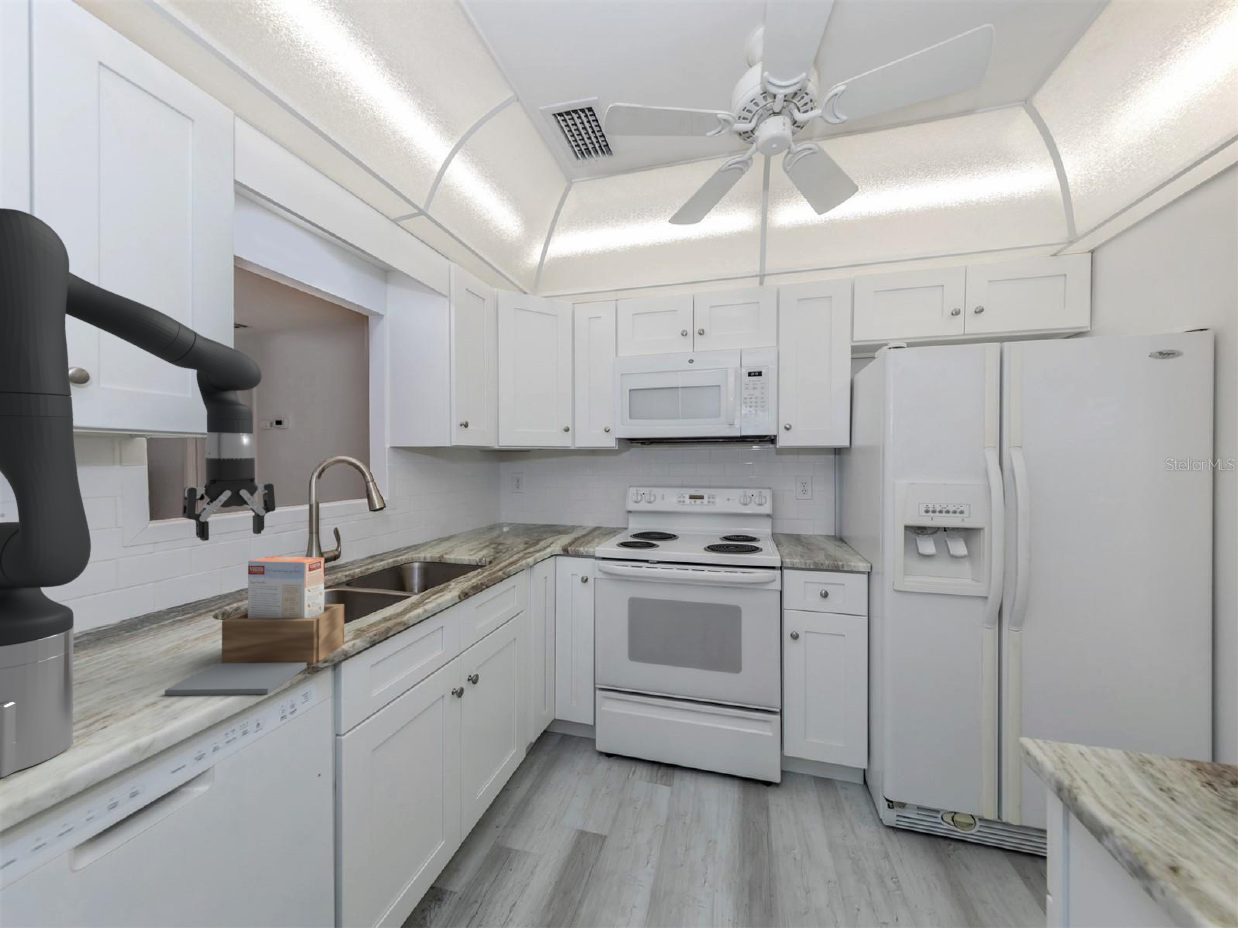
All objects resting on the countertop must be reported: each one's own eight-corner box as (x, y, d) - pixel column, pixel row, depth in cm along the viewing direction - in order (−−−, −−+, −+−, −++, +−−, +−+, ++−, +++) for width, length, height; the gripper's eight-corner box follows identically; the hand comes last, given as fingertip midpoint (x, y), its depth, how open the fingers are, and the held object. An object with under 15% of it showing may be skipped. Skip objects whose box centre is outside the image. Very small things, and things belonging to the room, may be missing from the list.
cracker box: (325, 649, 104) (326, 556, 104) (303, 661, 98) (303, 562, 98) (270, 645, 106) (271, 554, 106) (245, 656, 100) (246, 559, 100)
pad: (267, 694, 84) (267, 688, 84) (164, 695, 83) (164, 689, 83) (306, 667, 95) (306, 662, 95) (215, 668, 94) (216, 663, 94)
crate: (315, 663, 97) (315, 620, 97) (219, 664, 96) (220, 621, 96) (345, 642, 108) (346, 604, 108) (260, 643, 107) (260, 604, 107)
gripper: (190, 457, 84) (192, 545, 85) (280, 456, 96) (281, 533, 97) (176, 455, 88) (177, 540, 89) (264, 455, 100) (265, 529, 101)
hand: (231, 536), depth 93 cm, fingers open, 8 cm apart
